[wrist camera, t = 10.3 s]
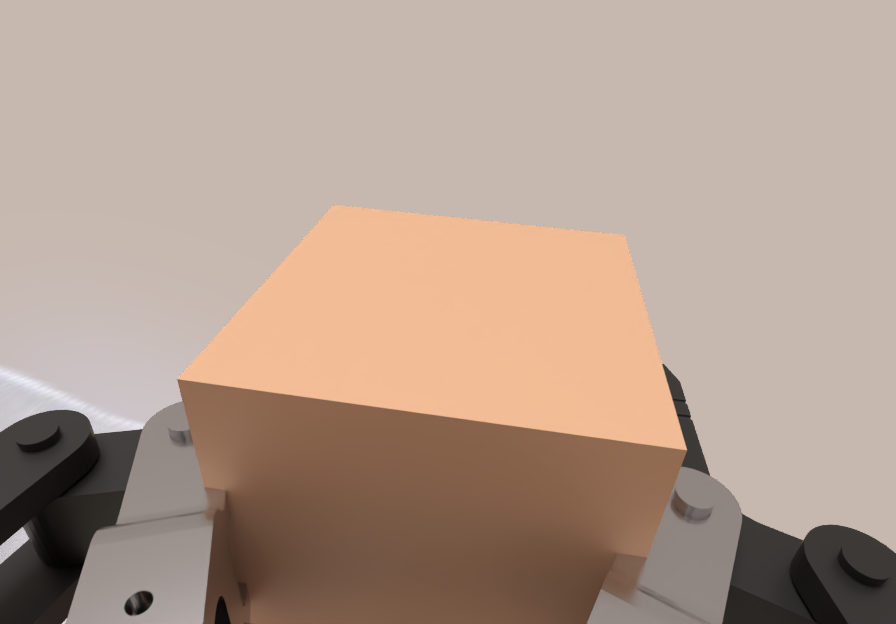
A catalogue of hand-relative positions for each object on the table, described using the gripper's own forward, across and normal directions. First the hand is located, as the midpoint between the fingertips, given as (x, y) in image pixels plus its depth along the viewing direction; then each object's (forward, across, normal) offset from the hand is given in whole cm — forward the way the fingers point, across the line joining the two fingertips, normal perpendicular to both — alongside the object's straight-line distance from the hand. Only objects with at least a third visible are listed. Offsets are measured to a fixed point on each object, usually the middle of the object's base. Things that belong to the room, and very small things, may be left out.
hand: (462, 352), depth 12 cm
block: (-3, 0, +6) cm, 7 cm away
